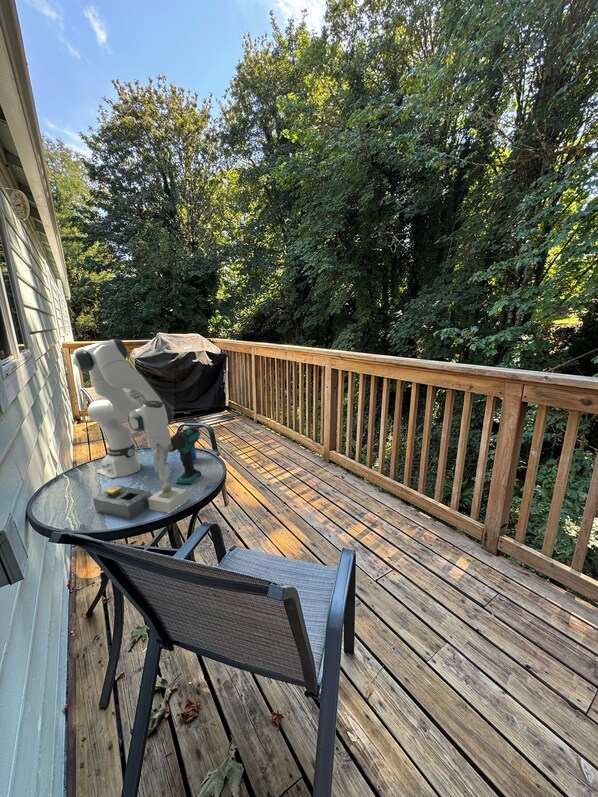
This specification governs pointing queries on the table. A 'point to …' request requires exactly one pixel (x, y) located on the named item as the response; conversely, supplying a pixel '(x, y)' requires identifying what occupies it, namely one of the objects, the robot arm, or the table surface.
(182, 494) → the cream square open frame
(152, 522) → the table surface
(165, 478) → the metal cylinder
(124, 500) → the socket block
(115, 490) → the wooden tenon block
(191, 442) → the power drill
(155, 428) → the robot arm
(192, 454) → the blue upright block
